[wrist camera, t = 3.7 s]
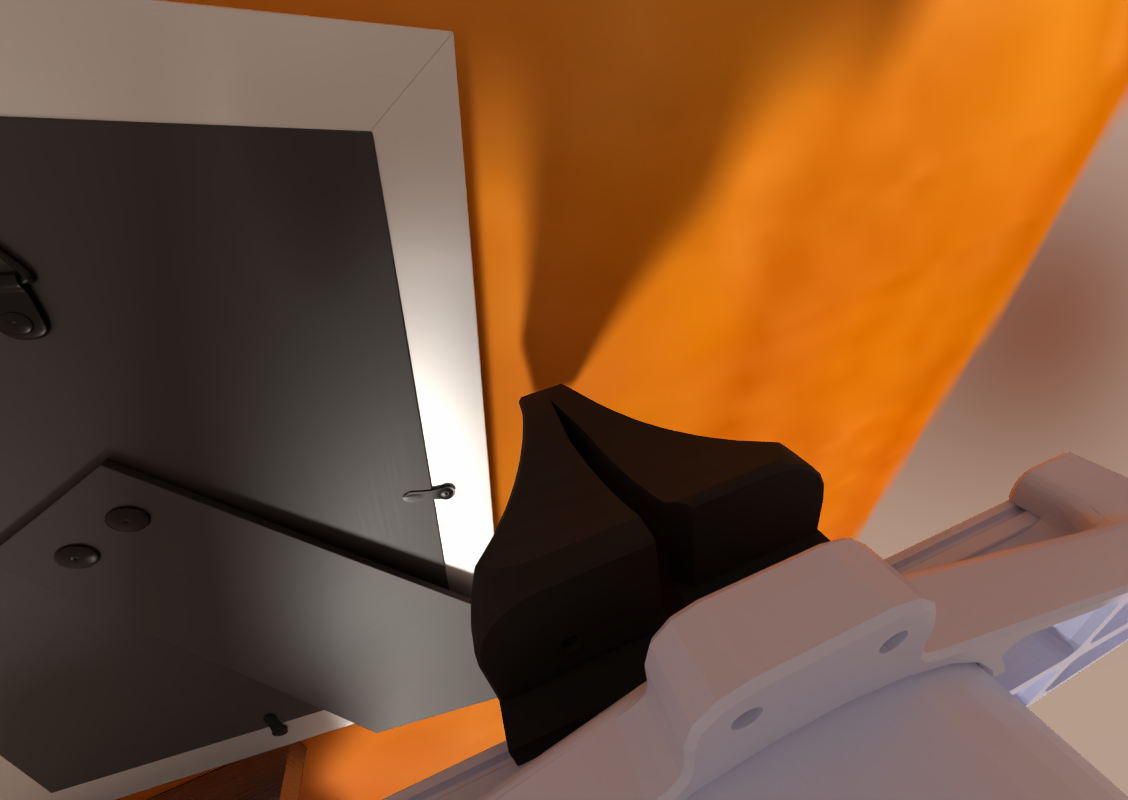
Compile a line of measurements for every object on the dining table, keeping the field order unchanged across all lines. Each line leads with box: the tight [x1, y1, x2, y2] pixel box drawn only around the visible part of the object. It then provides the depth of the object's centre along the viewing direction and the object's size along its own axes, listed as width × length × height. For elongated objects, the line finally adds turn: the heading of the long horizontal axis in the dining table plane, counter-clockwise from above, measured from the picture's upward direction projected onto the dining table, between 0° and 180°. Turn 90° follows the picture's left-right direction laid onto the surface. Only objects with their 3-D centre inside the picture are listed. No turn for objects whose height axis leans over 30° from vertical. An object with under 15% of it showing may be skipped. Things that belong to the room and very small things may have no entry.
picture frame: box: [0, 0, 498, 800], centre depth 11 cm, size 16×3×21 cm
